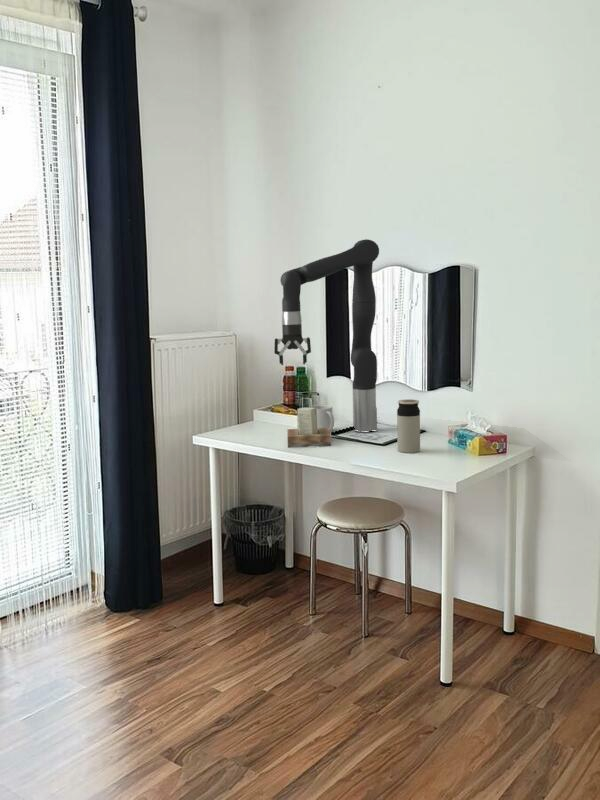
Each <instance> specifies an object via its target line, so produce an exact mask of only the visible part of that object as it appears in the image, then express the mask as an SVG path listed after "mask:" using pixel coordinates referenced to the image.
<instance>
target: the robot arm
mask: <svg viewBox="0 0 600 800" xmlns="http://www.w3.org/2000/svg"><path fill="white" fill-rule="evenodd" d="M379 254H380V248H379V245H378V244H377V242H375V241H373V240H371V239H369V238H368V239H367V238H366V239H361V240H360V239H359V241H358V240H357V242H355V244H354V245H353V246H352V247H351V248H349V249H347V250H344V251H342V252H339V253H336V254H333V255H330V256H327V257H322V258H320V259H317V260H314V261H312V262H309V263H306V264H305V265H303V266H299V267H297V268H293V269H290V270H287V271H285V272H283V273H282V274H281V276H280V284H281V286H282V291H283V292H282V295H283V297H282V300H281V303H282V304H281V305H282V306H281V310H282V311H281V312H282V314H281V329H282V337H281V338H277V337H276V338H274V355H277V356H278V358H279V364H281V366H284V355H283V354H284V353H285V352H286V350H297V349H298V350H300V351H301V353H302V365H306V363H307V361H308V360H307V359H308V354H310V353H312V346H311V338H310V337H309V336H307V337H303V330H302V322H303V321H302V313H301V298H300V297H301V289H302V288H301V287H302V285H305V284H306V283H311V282H315V281H318V280H320V279H324V278H325V277H328V276H330V275H333V274H335V273H338V272H340V271H342V270H345V269H347V268H350V267H352V268H353V283H352V284H353V285H352V299H351V304H352V305H351V313H352V314H351V315H352V317H351V318H352V319H351V320H352V342H351V343H352V345H351V351H350V363H351V365H352V366H353V380H352V420H353V422H352V423H353V425H352V426H353V427H354V428H355V430H358V431H372V430H377V431H378V413H377V412H378V411H377V410H378V408H377V394H376V393H377V380H378V360H377V355H376V353H375V352H374V351H372V332H373V327H374V323H375V318H376V310H377V308H376V306H377V298H376V291H375V286H374V281H373V266H374V265H373V263H374V261H377V258H378V257H379ZM303 342H304V343H305V344H307V345H306V346H307V350H305V349H304V347H303V346H302V343H303ZM281 343H282V344H283V347H282V348H281V349H280V351H278V350H279V349H278V348H279V347H278V345H280V344H281Z"/></svg>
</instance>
